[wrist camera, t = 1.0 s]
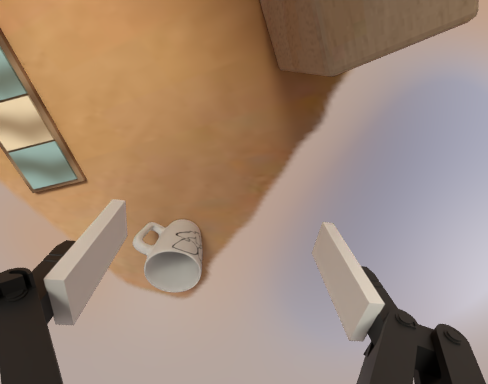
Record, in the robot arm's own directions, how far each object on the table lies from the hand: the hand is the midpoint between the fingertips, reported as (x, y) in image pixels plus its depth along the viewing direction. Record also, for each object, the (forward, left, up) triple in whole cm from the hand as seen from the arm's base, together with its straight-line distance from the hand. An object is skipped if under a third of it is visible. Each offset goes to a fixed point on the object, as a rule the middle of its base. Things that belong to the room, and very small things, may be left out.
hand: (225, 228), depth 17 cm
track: (-12, -29, -24) cm, 40 cm away
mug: (+14, -14, -25) cm, 32 cm away
